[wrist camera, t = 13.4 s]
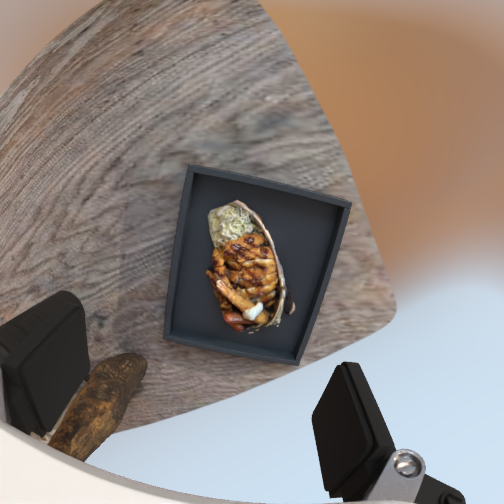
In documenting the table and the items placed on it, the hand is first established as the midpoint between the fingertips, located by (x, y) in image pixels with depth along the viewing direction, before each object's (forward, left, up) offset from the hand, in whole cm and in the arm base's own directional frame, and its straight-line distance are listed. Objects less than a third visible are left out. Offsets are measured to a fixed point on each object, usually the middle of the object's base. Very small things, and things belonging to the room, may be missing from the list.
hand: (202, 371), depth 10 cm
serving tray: (+3, +2, -19) cm, 19 cm away
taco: (+2, +1, -18) cm, 18 cm away
